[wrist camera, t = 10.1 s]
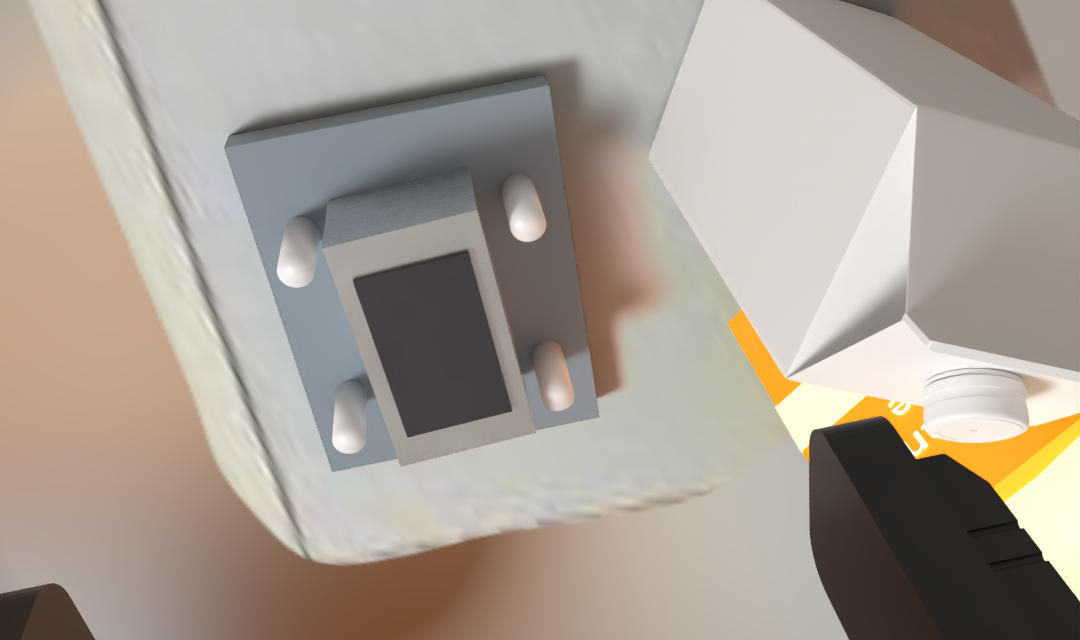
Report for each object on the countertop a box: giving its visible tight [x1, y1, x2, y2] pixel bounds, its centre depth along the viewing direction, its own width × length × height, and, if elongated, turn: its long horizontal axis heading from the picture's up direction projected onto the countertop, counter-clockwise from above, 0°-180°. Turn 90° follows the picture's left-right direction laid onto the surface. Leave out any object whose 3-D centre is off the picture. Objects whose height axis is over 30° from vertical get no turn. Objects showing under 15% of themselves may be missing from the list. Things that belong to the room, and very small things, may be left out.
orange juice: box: [728, 310, 1080, 601], centre depth 33 cm, size 8×9×20 cm
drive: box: [322, 166, 536, 466], centre depth 36 cm, size 9×5×4 cm, turn 12°
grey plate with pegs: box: [224, 75, 599, 472], centre depth 37 cm, size 14×11×4 cm
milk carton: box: [648, 0, 1080, 443], centre depth 28 cm, size 7×7×19 cm
